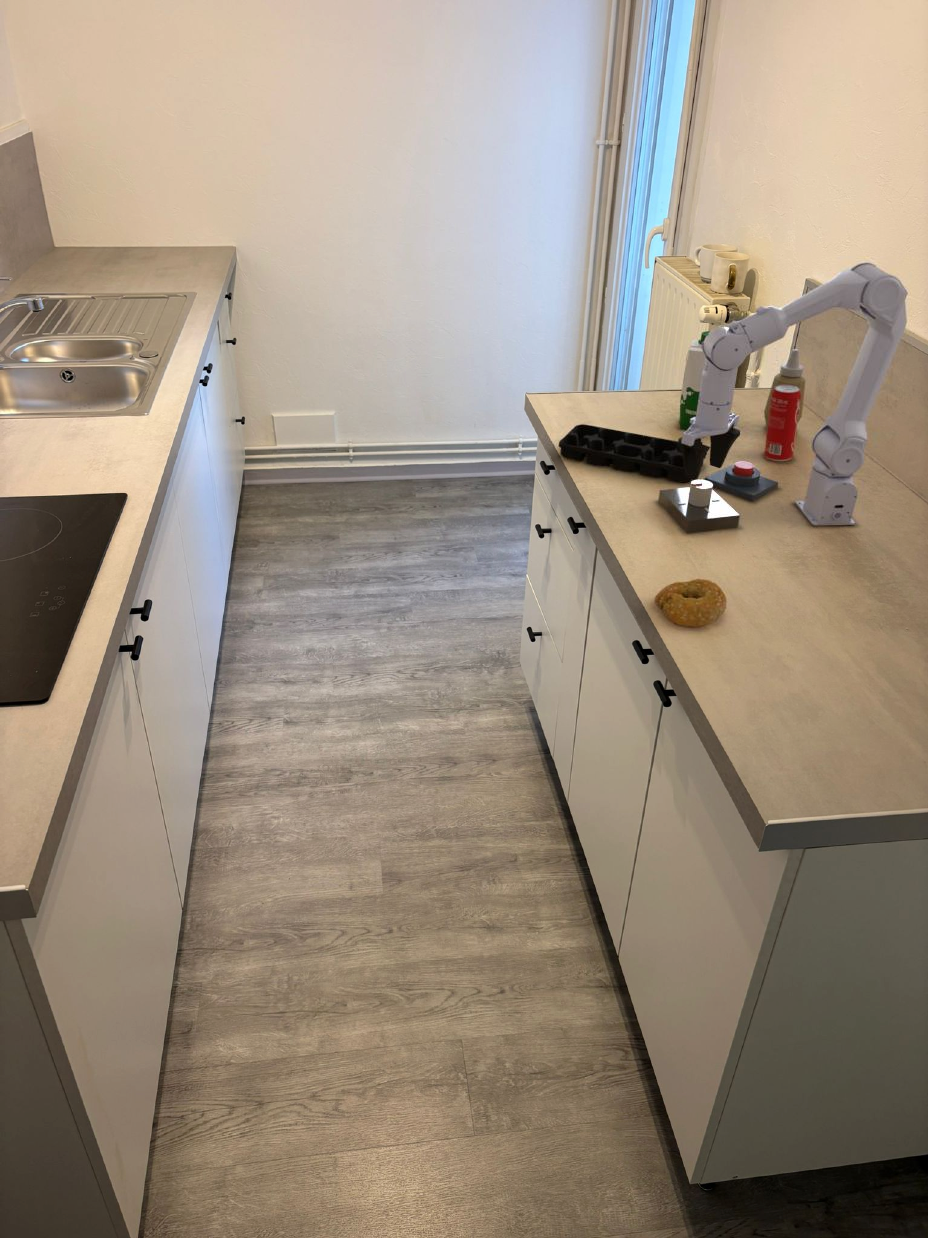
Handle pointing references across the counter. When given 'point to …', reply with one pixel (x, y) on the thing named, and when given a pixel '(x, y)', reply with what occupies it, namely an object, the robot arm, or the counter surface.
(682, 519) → the panel
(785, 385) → the beverage can
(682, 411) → the milk carton
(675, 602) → the bagel
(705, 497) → the hob knob
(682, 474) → the egg carton
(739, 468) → the power button
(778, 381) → the squeeze bottle
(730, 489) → the switch block
